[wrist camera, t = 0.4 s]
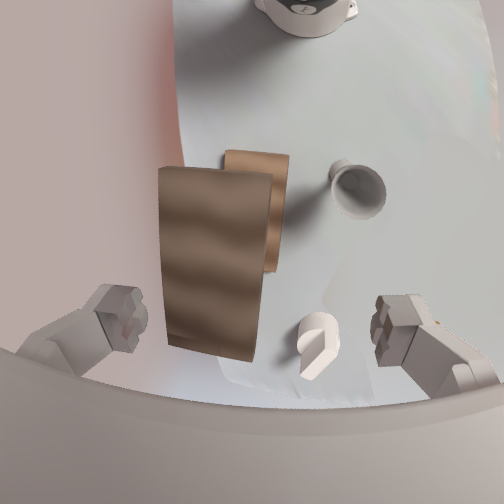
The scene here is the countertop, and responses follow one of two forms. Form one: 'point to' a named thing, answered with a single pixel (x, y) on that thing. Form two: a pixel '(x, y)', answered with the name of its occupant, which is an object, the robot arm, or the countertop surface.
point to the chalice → (356, 190)
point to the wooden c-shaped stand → (219, 249)
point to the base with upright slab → (317, 343)
